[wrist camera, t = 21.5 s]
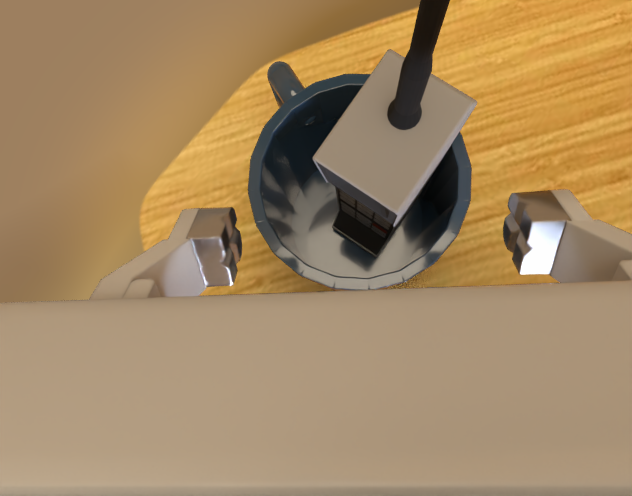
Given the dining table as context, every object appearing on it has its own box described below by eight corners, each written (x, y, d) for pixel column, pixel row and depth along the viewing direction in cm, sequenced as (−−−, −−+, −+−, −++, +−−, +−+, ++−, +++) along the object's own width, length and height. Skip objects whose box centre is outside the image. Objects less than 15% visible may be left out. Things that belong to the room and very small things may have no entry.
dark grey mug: (457, 243, 32) (517, 211, 21) (334, 321, 33) (323, 334, 21) (353, 92, 34) (354, -17, 22) (237, 167, 34) (176, 97, 23)
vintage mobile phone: (332, 229, 32) (263, 4, 8) (371, 172, 33) (427, -223, 8) (375, 258, 32) (452, 120, 7) (415, 201, 32) (622, -127, 7)
